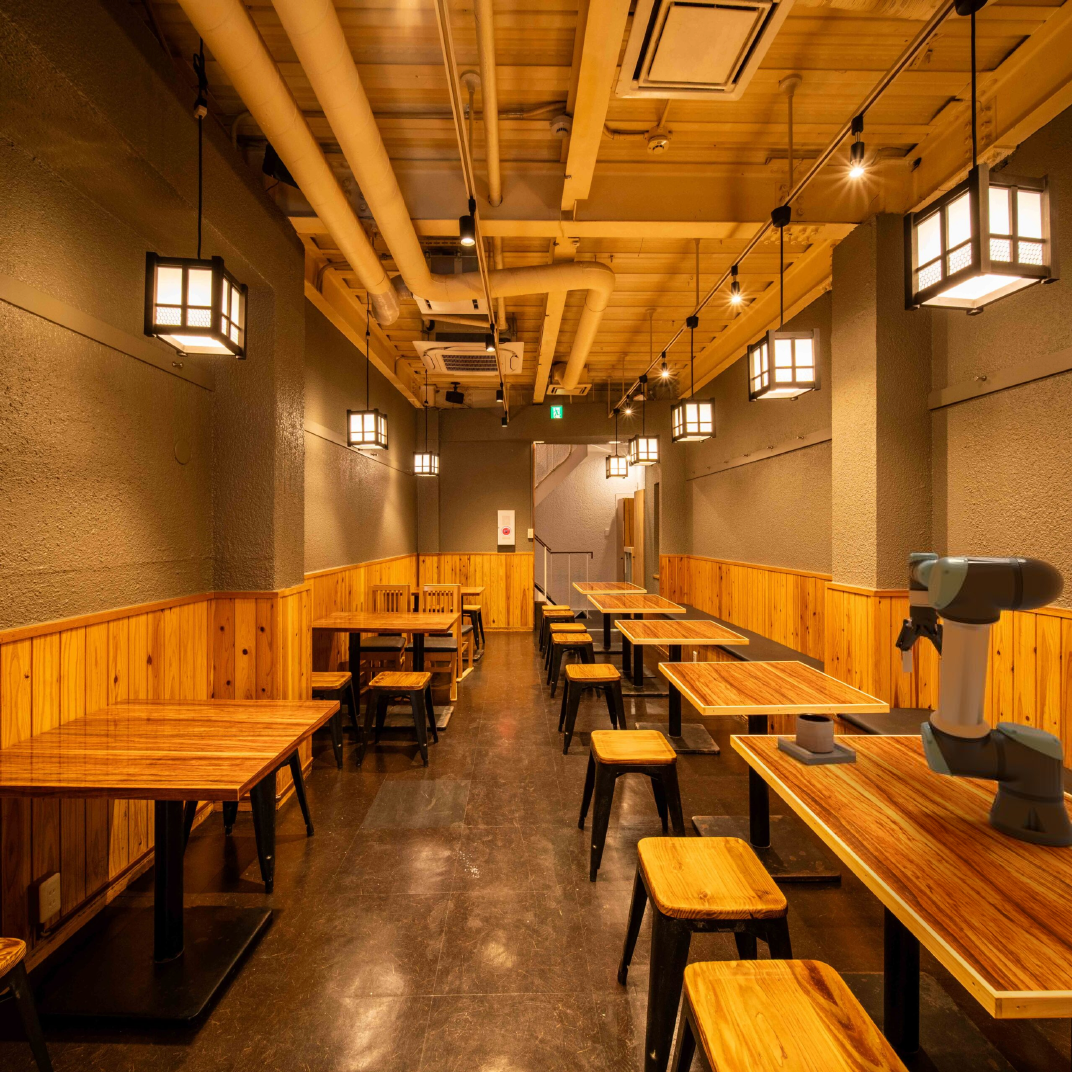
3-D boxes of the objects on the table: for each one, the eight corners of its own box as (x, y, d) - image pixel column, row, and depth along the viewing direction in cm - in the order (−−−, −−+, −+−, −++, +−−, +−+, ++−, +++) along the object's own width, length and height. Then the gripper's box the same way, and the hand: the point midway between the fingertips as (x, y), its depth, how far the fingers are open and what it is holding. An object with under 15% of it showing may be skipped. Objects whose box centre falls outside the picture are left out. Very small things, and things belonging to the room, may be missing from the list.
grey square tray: (856, 762, 179) (856, 751, 180) (807, 765, 177) (807, 753, 177) (822, 745, 195) (822, 734, 195) (777, 747, 193) (777, 737, 193)
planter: (798, 752, 183) (797, 720, 183) (794, 741, 193) (793, 711, 193) (837, 755, 179) (836, 723, 180) (830, 744, 190) (830, 714, 190)
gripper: (972, 608, 164) (974, 686, 163) (902, 601, 188) (904, 668, 188) (948, 609, 163) (950, 687, 162) (881, 601, 187) (882, 669, 187)
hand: (925, 677), depth 175 cm, fingers open, 13 cm apart
